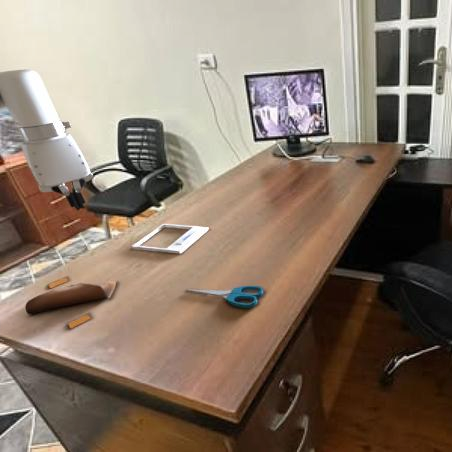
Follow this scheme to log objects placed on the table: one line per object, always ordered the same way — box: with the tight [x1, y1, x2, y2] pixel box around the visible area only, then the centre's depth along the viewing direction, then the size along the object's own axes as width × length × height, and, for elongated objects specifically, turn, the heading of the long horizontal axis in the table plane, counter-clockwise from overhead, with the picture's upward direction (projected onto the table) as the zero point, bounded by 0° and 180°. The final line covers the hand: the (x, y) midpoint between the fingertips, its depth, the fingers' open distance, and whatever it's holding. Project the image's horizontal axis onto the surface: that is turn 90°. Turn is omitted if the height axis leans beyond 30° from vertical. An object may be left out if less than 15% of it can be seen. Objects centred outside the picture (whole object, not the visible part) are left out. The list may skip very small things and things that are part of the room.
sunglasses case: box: [25, 280, 117, 315], centre depth 88 cm, size 18×7×7 cm
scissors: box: [186, 285, 264, 309], centre depth 86 cm, size 7×1×20 cm
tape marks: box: [48, 277, 91, 330], centre depth 89 cm, size 4×25×1 cm, turn 46°
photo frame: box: [131, 223, 210, 254], centre depth 113 cm, size 15×1×18 cm
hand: (79, 207), depth 85 cm, fingers closed
